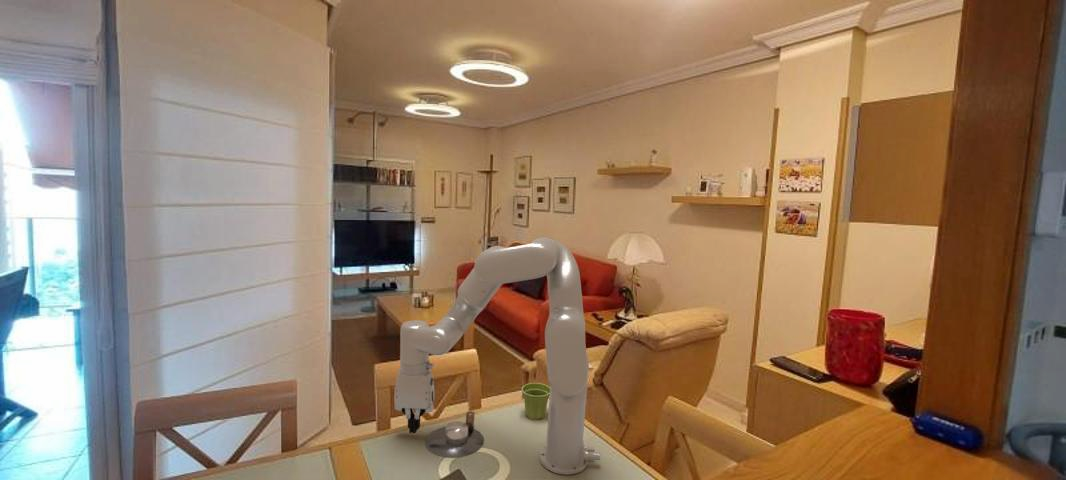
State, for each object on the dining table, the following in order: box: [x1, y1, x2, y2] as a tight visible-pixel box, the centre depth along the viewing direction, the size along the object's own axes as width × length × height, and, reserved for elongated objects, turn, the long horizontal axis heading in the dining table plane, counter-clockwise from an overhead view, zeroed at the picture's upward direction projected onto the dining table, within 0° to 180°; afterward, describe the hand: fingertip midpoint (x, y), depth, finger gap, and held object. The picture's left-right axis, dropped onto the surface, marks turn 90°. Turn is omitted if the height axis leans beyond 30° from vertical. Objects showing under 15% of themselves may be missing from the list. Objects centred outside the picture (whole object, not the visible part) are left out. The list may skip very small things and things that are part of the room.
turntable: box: [424, 410, 485, 459], centre depth 125 cm, size 16×16×6 cm
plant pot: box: [521, 382, 550, 421], centre depth 144 cm, size 9×9×9 cm
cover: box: [445, 421, 468, 447], centre depth 125 cm, size 6×6×4 cm
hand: (413, 430), depth 126 cm, fingers closed
